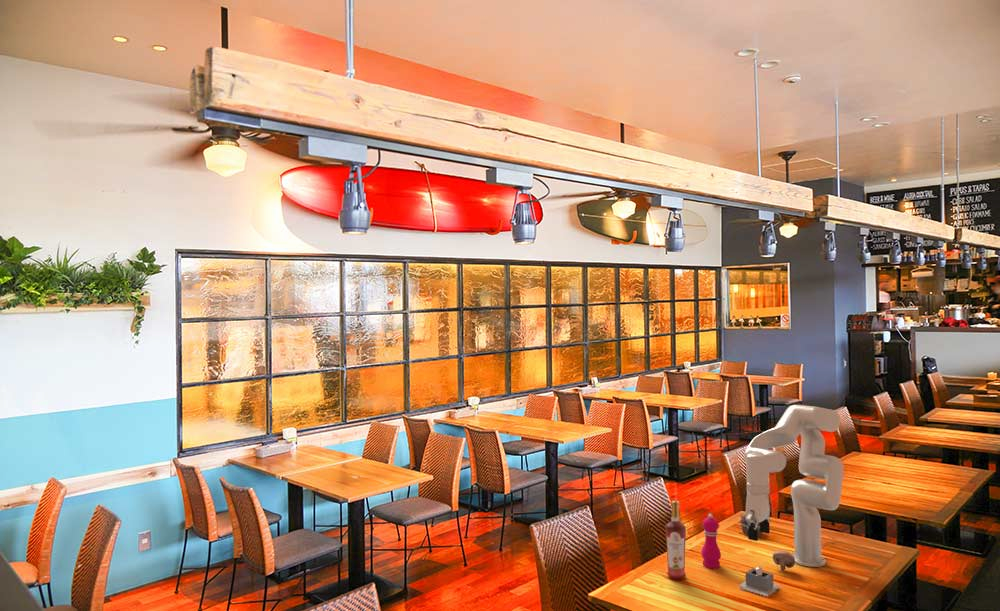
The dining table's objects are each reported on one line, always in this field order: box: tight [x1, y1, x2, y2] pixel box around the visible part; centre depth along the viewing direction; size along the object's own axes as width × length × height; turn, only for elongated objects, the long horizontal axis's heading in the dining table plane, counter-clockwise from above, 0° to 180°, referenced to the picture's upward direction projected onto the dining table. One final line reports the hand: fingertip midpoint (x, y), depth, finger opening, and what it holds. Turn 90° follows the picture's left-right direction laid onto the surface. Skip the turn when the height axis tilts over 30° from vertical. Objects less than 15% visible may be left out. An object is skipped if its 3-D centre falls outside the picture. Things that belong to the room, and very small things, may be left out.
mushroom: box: [772, 550, 796, 572], centre depth 242 cm, size 8×6×8 cm
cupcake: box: [740, 509, 763, 537], centre depth 282 cm, size 10×10×10 cm
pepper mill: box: [701, 513, 722, 570], centre depth 248 cm, size 7×7×20 cm
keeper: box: [738, 566, 780, 598], centre depth 227 cm, size 10×10×7 cm
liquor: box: [665, 500, 687, 581], centre depth 238 cm, size 7×7×28 cm
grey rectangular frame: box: [745, 568, 774, 590], centre depth 228 cm, size 8×6×4 cm
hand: (759, 536), depth 228 cm, fingers open, 9 cm apart
